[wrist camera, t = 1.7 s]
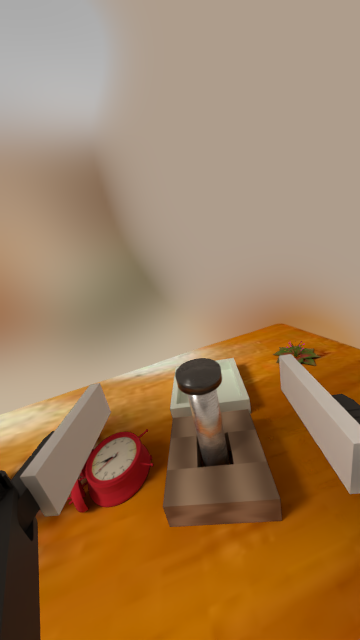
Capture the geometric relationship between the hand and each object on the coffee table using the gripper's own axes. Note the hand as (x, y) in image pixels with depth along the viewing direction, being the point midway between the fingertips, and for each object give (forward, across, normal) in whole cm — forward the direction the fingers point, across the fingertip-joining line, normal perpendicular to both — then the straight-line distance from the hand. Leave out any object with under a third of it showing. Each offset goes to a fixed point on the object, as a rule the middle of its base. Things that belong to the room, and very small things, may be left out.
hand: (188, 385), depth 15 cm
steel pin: (+11, 0, -24) cm, 26 cm away
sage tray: (+29, 0, -24) cm, 37 cm away
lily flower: (+39, +25, -24) cm, 52 cm away
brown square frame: (+11, 0, -24) cm, 26 cm away
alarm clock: (+11, -18, -24) cm, 32 cm away
